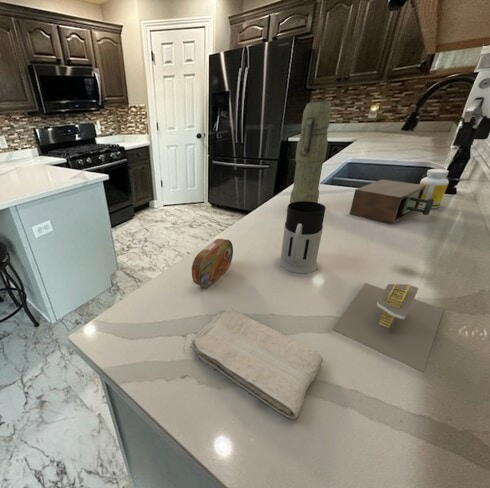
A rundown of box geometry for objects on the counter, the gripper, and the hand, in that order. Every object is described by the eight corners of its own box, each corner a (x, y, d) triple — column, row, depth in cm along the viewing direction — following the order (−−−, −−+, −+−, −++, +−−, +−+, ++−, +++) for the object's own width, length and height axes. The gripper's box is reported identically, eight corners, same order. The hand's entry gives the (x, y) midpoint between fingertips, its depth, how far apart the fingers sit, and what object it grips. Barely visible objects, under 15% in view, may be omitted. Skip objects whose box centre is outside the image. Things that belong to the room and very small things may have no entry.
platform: (332, 329, 46) (339, 300, 43) (365, 283, 56) (373, 256, 53) (423, 372, 37) (441, 339, 34) (443, 308, 47) (458, 279, 44)
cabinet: (417, 211, 84) (426, 185, 80) (391, 224, 78) (400, 197, 74) (374, 202, 94) (381, 179, 90) (349, 214, 87) (355, 189, 83)
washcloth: (224, 313, 52) (224, 301, 50) (324, 363, 40) (328, 349, 39) (186, 352, 45) (185, 339, 43) (294, 426, 33) (298, 412, 32)
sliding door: (435, 213, 79) (443, 193, 76) (425, 219, 76) (432, 199, 73) (411, 208, 83) (417, 190, 81) (401, 214, 81) (407, 195, 78)
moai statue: (320, 205, 96) (340, 98, 80) (310, 216, 89) (330, 100, 73) (295, 202, 102) (308, 101, 86) (284, 212, 94) (296, 103, 78)
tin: (201, 294, 58) (200, 262, 54) (190, 289, 60) (188, 258, 56) (234, 263, 67) (234, 234, 64) (223, 260, 69) (223, 232, 66)
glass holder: (319, 258, 66) (330, 202, 59) (311, 290, 55) (324, 226, 49) (282, 252, 70) (289, 198, 63) (269, 280, 60) (275, 220, 53)
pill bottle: (443, 206, 85) (458, 170, 80) (431, 210, 83) (445, 174, 78) (420, 201, 91) (432, 167, 85) (407, 205, 89) (419, 170, 84)
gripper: (514, 59, 52) (478, 149, 59) (540, 56, 58) (504, 137, 66) (461, 67, 58) (434, 147, 66) (490, 63, 64) (463, 136, 72)
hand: (470, 142), depth 66 cm, fingers open, 9 cm apart
